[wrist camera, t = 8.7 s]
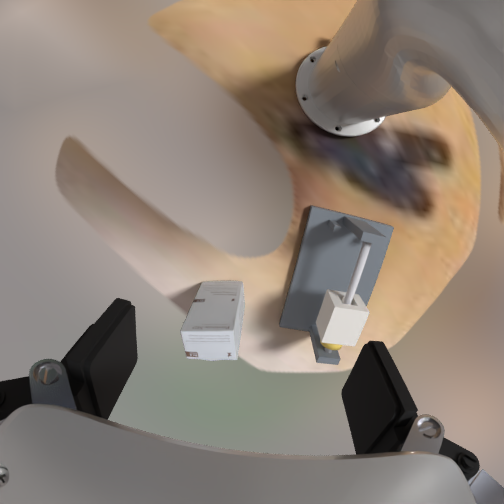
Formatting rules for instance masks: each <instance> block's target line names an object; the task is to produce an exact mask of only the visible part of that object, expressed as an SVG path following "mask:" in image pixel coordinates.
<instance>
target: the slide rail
mask: <svg viewBox="0 0 504 504" xmlns="http://www.w3.org/2000/svg"><path fill="white" fill-rule="evenodd" d="M393 229H394V227H392V226H391V225H387V224H383V223H380V222H376V221H372V220H368V219H365V218H361V217H357V216H353V215H349V214H345V213H341V212H337V211H333V210H329V209H324V208H320V207H316V206H312V205H311V207H310V211H309V215H308V219H307V223H306V227H305V231H304V235H303V239H302V243H301V247H300V251H299V254H298V258H297V262H296V266H295V269H294V273H293V277H292V280H291V284H290V287H289V291H288V295H287V298H286V302H285V305H284V309H283V312H282V316H281V319H280V322H279V326H280V327H283V328H289V329H296V330H302V331H309V332H310V336H311V341H312V345H313V349H314V354H315V358H316V362H317V363H325V364H335V365H338V363H339V361H340V356H339V353H338V350H339V349H341V347H342V345H339V344H330V343H322V342H321V339H320V336H319V332H318V328H317V325H316V320H317V317H318V314H319V312H320V309H321V306H322V303H323V300H324V297H325V294H326V291H327V289H330V290H335V291H341V292H346V295H345V298H344V301H343V304H350V305H351V302H352V299H353V297H354V294H358V295H359V296H360V297H361V299H362V300H363V302H364V304H365V305H366V306H367V304H368V301H369V299H370V296H371V293H372V291H373V288H374V285H375V283H376V280H377V277H378V274H379V272H380V269H381V266H382V263H383V260H384V257H385V254H386V251H387V248H388V245H389V242H390V238H391V235H392V232H393Z"/></svg>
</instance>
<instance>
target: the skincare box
mask: <svg viewBox="0 0 504 504" xmlns="http://www.w3.org/2000/svg"><path fill="white" fill-rule="evenodd" d="M244 308H245V300H244V287H243V282H241V281H207V282H202V283H201V286H200V288H199V290H198V292H197V294H196V297H195V299H194V301H193V303H192V306H191V308H190V310H189V312H188V315H187V317H186V319H185V321H184V324H183V326H182V328H181V331H180V332H181V336H182V341H183V345H184V349H185V353H186V357H187V358H188V359H204V360H212V361H216V360H237V359H238V350H239V344H240V338H241V330H242V323H243V315H244Z"/></svg>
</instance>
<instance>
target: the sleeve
mask: <svg viewBox="0 0 504 504" xmlns="http://www.w3.org/2000/svg"><path fill="white" fill-rule="evenodd" d="M345 295H346V292H341V291H335V290H330V289H327V291H326V294H325V297H324V300H323V303H322V306H321V309H320V312H319V314H318V317H317V320H316V325H317V328H318V332H319V336H320V339H321V342H322V343H330V344H339V345H348V346H355V345H356V343H357V340H358V338H359V336H360V334H361V331H362V329H363V327H364V325H365V322H366V320H367V318H368V315H369V313H370V312H369V310H368V309H367V307H366V305H365V304H364V302H363V300H362V299H361V297H360V296H359V295H358V294H354V297H353V299H352V302H351V305H350V304H343V301H344V298H345Z"/></svg>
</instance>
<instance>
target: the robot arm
mask: <svg viewBox="0 0 504 504" xmlns="http://www.w3.org/2000/svg"><path fill="white" fill-rule="evenodd" d="M310 60H313V61H314V62H313V63H312V62H311V61H310ZM295 84H296V94H297V99H298V101H299V104H300V106H301V108H302V109H303V111H304V112H305V114H306V115H307V116H308V118H309V119H310V120H311V121H312V122H313V123H315V124H316V125H317V126H318V127H320V128H321V129H323V130H325V131H327V132H329V133H332V134H335V135H339V136H345V137H350V136H359V135H363V134H366V133H369V132H371V131H372V130H374V129H376V128H377V127H378V126H379V125H380V124H381V123H382V122H383V120H384V119H385V117H386V116H389V115H393V114H398V113H402V112H407V111H411V110H416V109H421V108H425V107H428V106H430V105H433V104H435V103H436V102H438V101H439V100H440V99H442V98H443V97H444V95H445V94H446V93H447V92H448V90H449V89H450V87H451V86H452V87H453V88H454V89H455V90H456V92H457V93H458V94H459V95H460V96H461V97H462V98H463V100H464V101H465V102H466V103H467V104H468V105H469V106H470V107H471V108H472V109H473V110H474V112H475V113H476V114H477V115H478V116H479V118H480V119H481V120H482V122H483V123H484V125H485V126H486V127H487V129H488V130H489V131H490V133H491V134H492V136H493V137H494V138H495V140H496V141H497V143H498V144H499V146H500V147H501V149H502V150H503V152H504V0H357V2H356V3H355V5H354V7H353V8H352V10H351V12H350V13H349V15H348V16H347V18H346V19H345V21H344V22H343V24H342V26H341V27H340V29H339V30H338V32H337V33H336V35H335V36H334V38H333V39H332V41H331V42H330V44H329V45H328V46H326V47H322V48H320V49H317V50H315V51H314V52H312V53H311V54H309V55H308V56H307V57H306V58H305V59H304V61H303V62H302V64H301V66H300V67H299V70H298V72H297V76H296V81H295ZM303 97H305V98H306V101H304V100H303V99H302V98H303ZM374 119H376V122H375V121H374ZM335 127H338V131H336V130H335ZM136 362H137V341H136V321H135V306H133V305H131V302H130V301H127V300H124V299H120V298H116V299H115V300H114V302H113V303H112V304H111V305H110V306H109V307H108V308H107V310H106V311H105V312H104V313H103V314H102V315H101V317H100V318H99V319H98V320H97V321H96V322H95V324H92V325H91V326H89V328H88V329H87V330H86V331H85V332H84V334H83V335H82V336H81V337H80V338H79V340H78V341H77V342H76V343H75V344H74V346H73V347H72V348H71V349H70V351H69V352H68V353H67V354H66V355H65V357H64V358H63V359H62V360H61V362H59V361H57V360H54V359H43V360H40V361H38V362H36V363H35V364H34V365H33V366H32V367H31V369H30V371H29V376H28V377H23V378H18V379H12V380H6V381H1V382H0V504H504V488H503V487H502V486H501V485H500V484H499V483H498V482H497V481H495V480H494V479H493V478H492V477H491V476H490V475H489V474H488V473H487V472H485V471H484V470H483V469H482V470H481V471H479V466H480V465H479V461H478V459H477V457H476V456H475V455H474V454H473V453H472V452H470V451H468V450H466V449H464V448H462V447H461V446H459V445H457V444H455V443H453V442H451V441H450V440H448V439H446V438H444V426H443V425H442V423H441V422H440V421H439V420H438V419H437V418H435V417H434V416H431V415H427V414H424V415H420V416H418V415H417V413H416V412H417V411H418V409H417V407H416V405H415V403H414V401H413V399H412V397H411V395H410V393H409V391H408V389H407V387H406V385H405V383H404V381H403V379H402V377H401V375H400V373H399V371H398V369H397V367H396V365H395V363H394V361H393V359H392V357H391V355H390V354H389V352H388V350H387V348H386V346H385V344H384V343H383V342H380V341H369V342H368V343H367V344H365V345H364V346H363V348H362V350H361V352H360V354H359V357H358V359H357V361H356V363H355V365H354V367H353V369H352V371H351V373H350V375H349V377H348V379H347V381H346V383H345V385H344V387H343V389H342V399H343V403H344V406H345V411H346V415H347V418H348V422H349V427H350V431H351V435H352V439H353V443H354V447H355V451H356V455H333V456H308V455H307V456H306V455H282V454H269V453H256V452H247V451H239V450H232V449H225V448H219V447H212V446H207V445H201V444H196V443H191V442H186V441H182V440H176V439H173V438H169V437H164V436H160V435H156V434H153V433H149V432H146V431H142V430H139V429H135V428H132V427H128V426H125V425H121V424H118V423H115V422H112V421H109V420H108V418H109V416H110V414H111V412H112V410H113V407H114V406H115V404H116V402H117V400H118V398H119V396H120V394H121V392H122V390H123V388H124V386H125V384H126V382H127V380H128V378H129V376H130V375H131V373H132V371H133V369H134V367H135V365H136Z"/></svg>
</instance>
